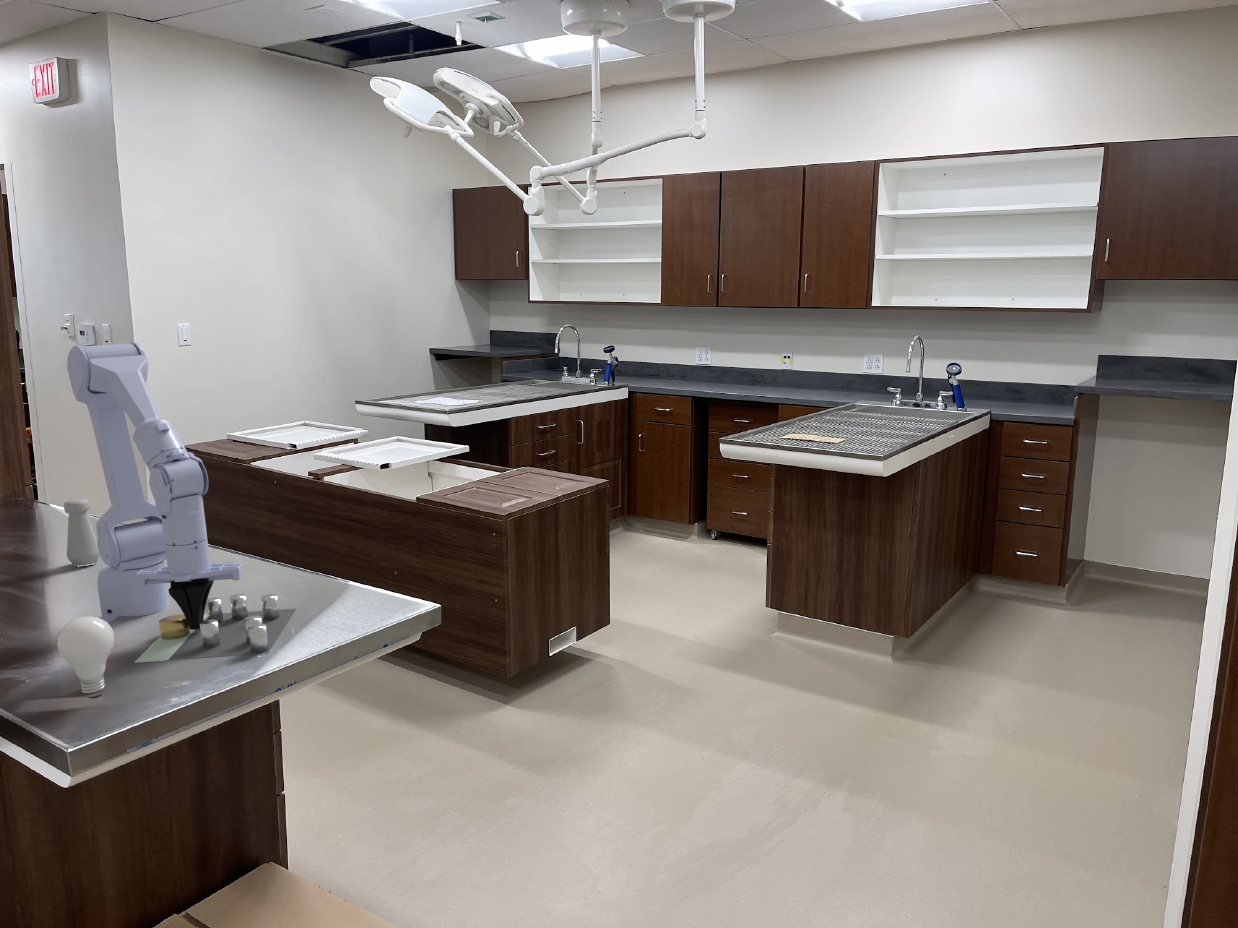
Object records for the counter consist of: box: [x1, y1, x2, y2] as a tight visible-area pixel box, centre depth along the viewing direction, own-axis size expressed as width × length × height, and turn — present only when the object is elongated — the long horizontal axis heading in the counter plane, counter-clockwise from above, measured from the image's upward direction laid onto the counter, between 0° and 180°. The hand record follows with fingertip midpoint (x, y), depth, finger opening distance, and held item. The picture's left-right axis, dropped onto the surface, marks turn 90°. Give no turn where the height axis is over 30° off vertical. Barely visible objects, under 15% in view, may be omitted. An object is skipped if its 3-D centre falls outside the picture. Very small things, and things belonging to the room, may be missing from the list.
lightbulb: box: [57, 615, 116, 699], centre depth 117 cm, size 6×6×11 cm
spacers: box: [200, 593, 280, 653], centre depth 135 cm, size 12×16×4 cm
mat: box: [133, 608, 297, 664], centre depth 136 cm, size 18×18×1 cm
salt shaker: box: [63, 498, 101, 567], centre depth 175 cm, size 6×6×13 cm
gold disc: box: [158, 614, 190, 640], centre depth 135 cm, size 4×4×2 cm
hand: (196, 627), depth 136 cm, fingers closed
